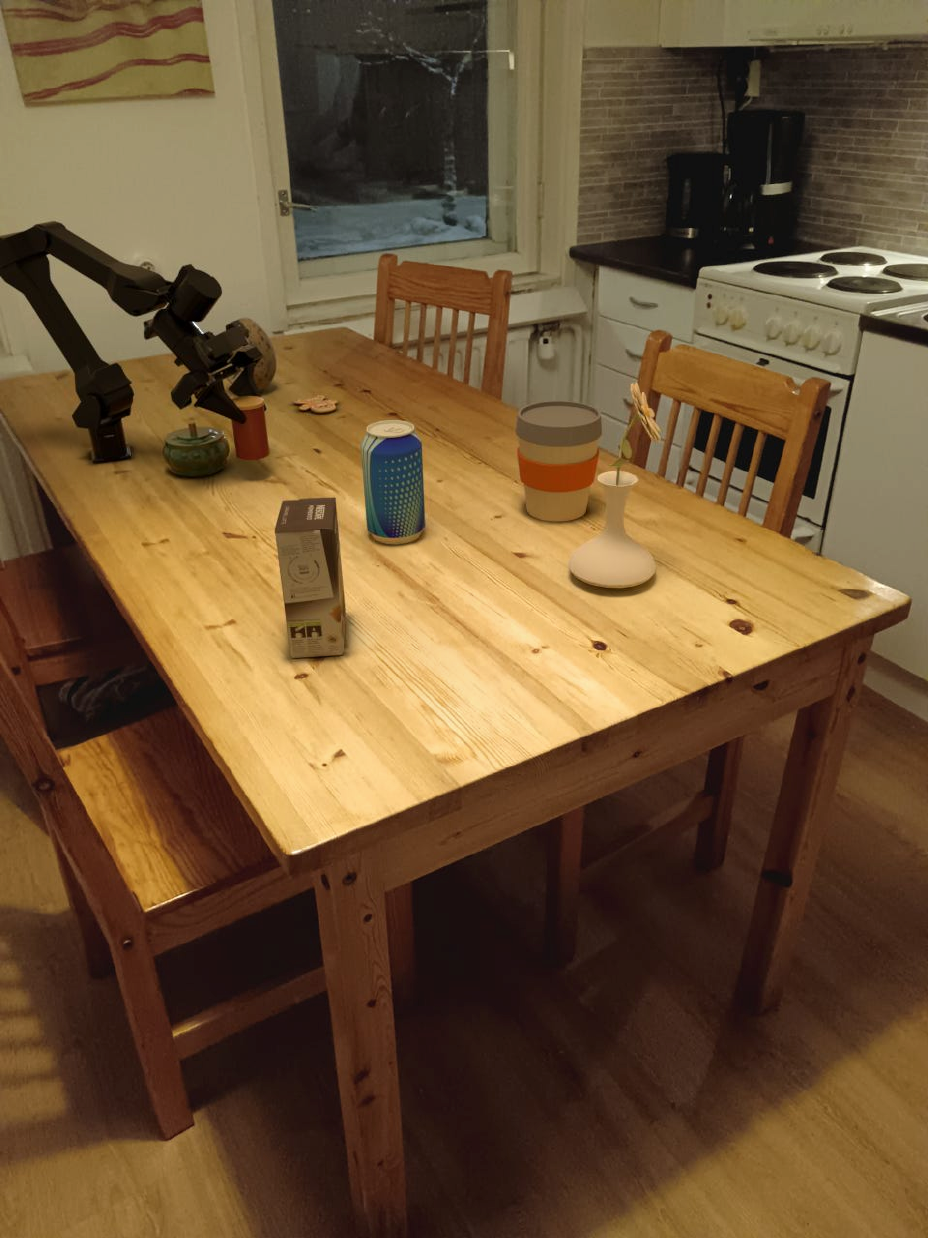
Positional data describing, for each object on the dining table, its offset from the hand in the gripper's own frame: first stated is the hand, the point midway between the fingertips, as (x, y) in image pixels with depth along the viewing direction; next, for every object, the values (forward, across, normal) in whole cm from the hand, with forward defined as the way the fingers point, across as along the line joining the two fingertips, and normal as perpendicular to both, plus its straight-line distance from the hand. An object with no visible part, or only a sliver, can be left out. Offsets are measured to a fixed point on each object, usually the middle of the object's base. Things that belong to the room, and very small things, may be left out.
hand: (254, 416), depth 154 cm
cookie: (0, +36, +15) cm, 39 cm away
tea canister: (+4, 0, +6) cm, 7 cm away
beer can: (+29, -12, -14) cm, 34 cm away
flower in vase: (+52, -13, -37) cm, 65 cm away
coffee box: (+32, -41, -17) cm, 55 cm away
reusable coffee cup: (+42, +4, -28) cm, 51 cm away
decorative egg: (-12, +41, +28) cm, 51 cm away
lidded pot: (-2, 0, +16) cm, 16 cm away
